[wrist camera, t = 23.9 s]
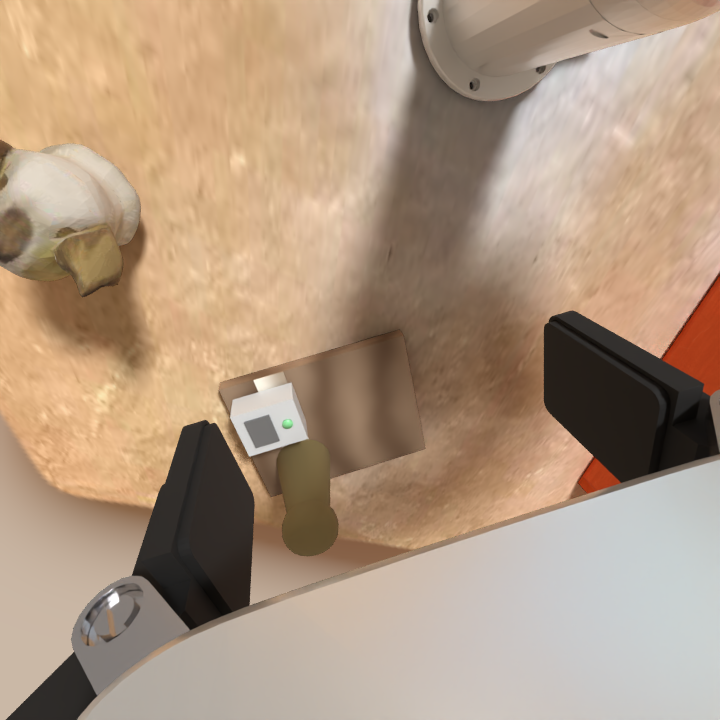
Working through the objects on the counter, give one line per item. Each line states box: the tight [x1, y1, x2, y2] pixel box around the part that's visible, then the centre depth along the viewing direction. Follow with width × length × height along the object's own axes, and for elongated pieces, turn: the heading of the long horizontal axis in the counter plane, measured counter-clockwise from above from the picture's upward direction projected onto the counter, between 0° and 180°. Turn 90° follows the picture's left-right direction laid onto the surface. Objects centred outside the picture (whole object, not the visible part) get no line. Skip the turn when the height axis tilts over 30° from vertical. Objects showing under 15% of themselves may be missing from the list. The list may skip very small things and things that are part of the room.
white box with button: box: [230, 382, 308, 457], centre depth 40 cm, size 6×5×3 cm
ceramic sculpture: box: [0, 140, 141, 297], centre depth 26 cm, size 11×9×15 cm
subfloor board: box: [219, 330, 426, 497], centre depth 45 cm, size 19×16×2 cm
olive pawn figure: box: [277, 439, 338, 556], centre depth 41 cm, size 6×6×11 cm
